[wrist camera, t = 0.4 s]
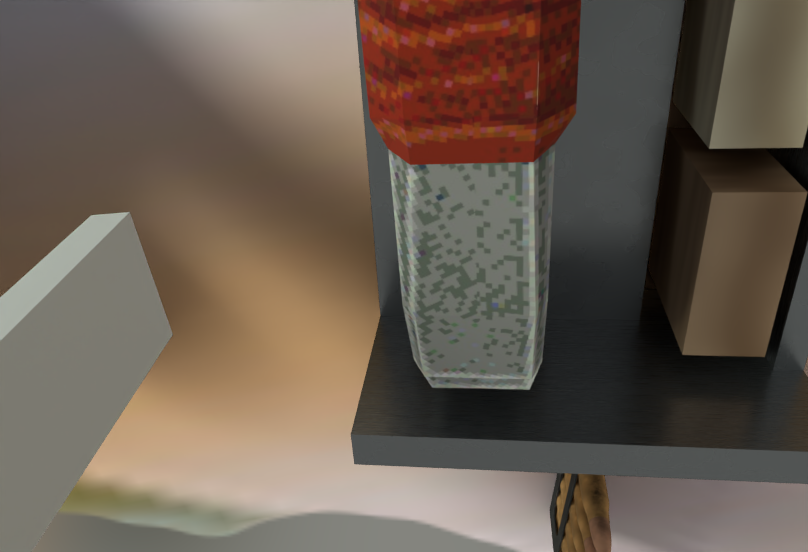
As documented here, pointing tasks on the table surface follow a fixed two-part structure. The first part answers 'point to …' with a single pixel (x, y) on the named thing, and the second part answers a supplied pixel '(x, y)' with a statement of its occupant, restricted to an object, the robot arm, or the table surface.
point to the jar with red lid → (472, 172)
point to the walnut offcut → (722, 244)
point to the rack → (599, 310)
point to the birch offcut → (745, 72)
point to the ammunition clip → (580, 514)
